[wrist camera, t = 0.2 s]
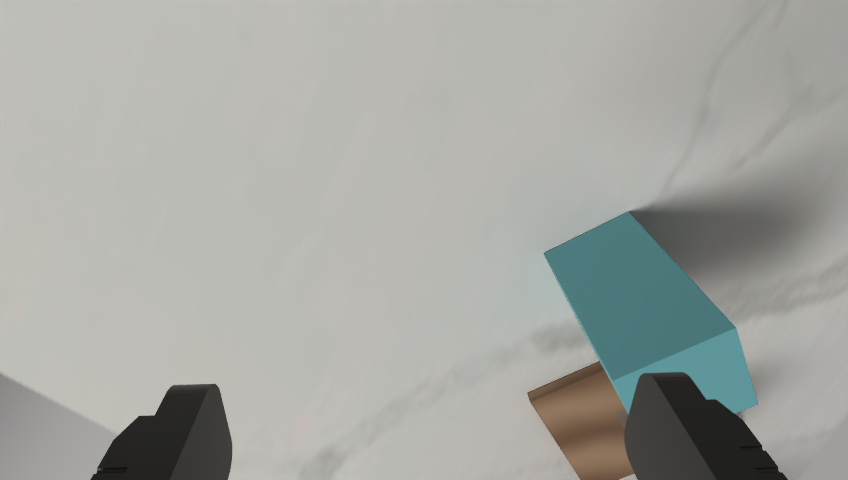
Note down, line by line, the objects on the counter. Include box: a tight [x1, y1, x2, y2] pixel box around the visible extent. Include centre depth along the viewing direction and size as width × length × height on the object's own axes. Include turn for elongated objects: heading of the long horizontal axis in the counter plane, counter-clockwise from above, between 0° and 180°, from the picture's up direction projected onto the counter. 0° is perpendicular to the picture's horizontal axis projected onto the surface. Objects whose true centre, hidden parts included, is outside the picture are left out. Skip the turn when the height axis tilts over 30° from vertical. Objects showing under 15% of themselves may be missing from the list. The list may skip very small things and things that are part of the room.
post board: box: [527, 361, 634, 480], centre depth 34 cm, size 12×12×8 cm
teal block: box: [544, 212, 758, 415], centre depth 27 cm, size 5×5×10 cm
